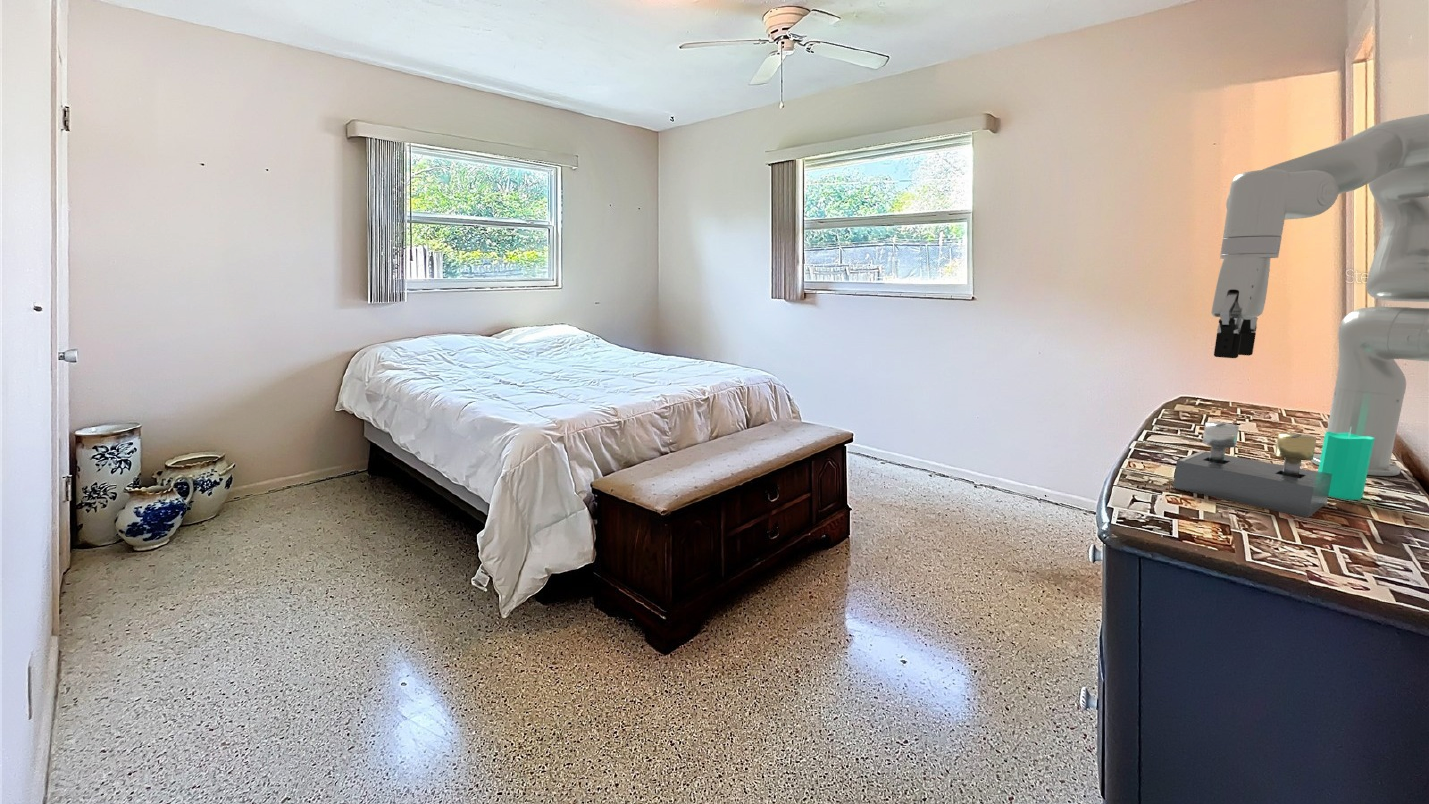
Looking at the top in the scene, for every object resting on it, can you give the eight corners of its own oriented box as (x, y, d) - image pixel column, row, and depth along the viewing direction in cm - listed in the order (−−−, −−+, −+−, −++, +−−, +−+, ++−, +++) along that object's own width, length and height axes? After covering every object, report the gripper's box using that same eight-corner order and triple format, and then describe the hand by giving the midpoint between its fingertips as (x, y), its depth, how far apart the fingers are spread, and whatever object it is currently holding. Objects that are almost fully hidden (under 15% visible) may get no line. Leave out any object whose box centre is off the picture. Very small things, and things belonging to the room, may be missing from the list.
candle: (1372, 501, 107) (1386, 431, 104) (1330, 498, 108) (1343, 429, 106) (1345, 489, 112) (1358, 423, 110) (1305, 487, 114) (1317, 422, 111)
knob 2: (1274, 476, 108) (1283, 430, 106) (1311, 483, 104) (1320, 436, 102) (1266, 481, 105) (1275, 434, 103) (1303, 488, 101) (1312, 439, 100)
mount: (1197, 476, 120) (1201, 450, 119) (1326, 503, 105) (1332, 473, 104) (1172, 488, 113) (1176, 460, 112) (1307, 518, 98) (1313, 486, 97)
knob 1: (1204, 463, 115) (1210, 420, 114) (1235, 469, 112) (1242, 424, 110) (1194, 467, 113) (1201, 423, 111) (1226, 473, 109) (1234, 428, 108)
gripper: (1238, 251, 113) (1223, 351, 117) (1204, 248, 103) (1188, 357, 107) (1293, 250, 107) (1275, 355, 111) (1262, 246, 97) (1244, 361, 101)
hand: (1233, 355), depth 109 cm, fingers open, 6 cm apart
